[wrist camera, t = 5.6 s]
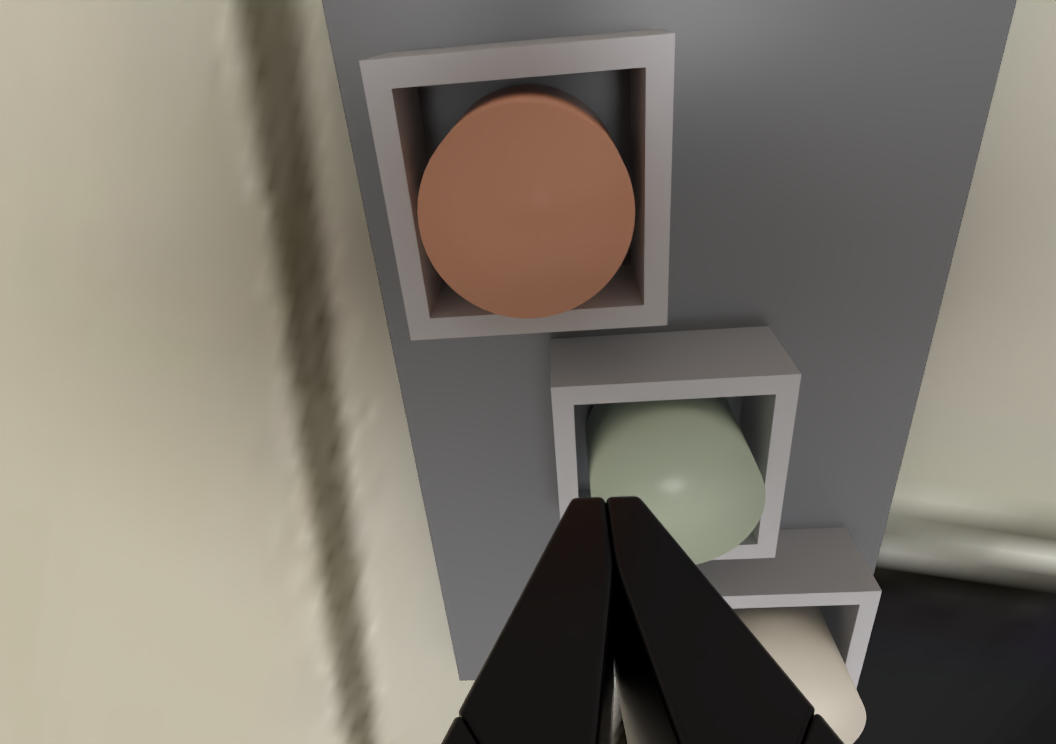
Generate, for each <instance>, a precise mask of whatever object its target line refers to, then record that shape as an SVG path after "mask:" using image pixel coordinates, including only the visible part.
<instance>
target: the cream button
mask: <svg viewBox="0 0 1056 744" xmlns="http://www.w3.org/2000/svg"><path fill="white" fill-rule="evenodd" d="M733 610H734V611H735V613H736V614H737V615H738V616H739V618H740V619H741V620H742V621H743V622H744V624H745V625H746V626H747V627H748V628H749V630H750V631H751V632H752V633H753V634H754V636H755V637H756V638H757V639H758V640H759V642H760V643H761V644H762V645H763V646H764V648H765V649H766V650H767V651H768V652H769V654H770V655H771V656H772V657H773V658H774V660H775V661H776V662H777V663H778V665H779V666H780V667H781V668H782V669H783V671H784V672H785V673H786V674H787V675H788V677H789V678H790V679H791V680H792V681H793V683H794V684H795V685H796V686H797V687H798V689H799V690H800V691H801V692H802V693H803V695H804V696H805V697H806V698H807V699H808V701H809V702H810V703H811V704H812V705H813V707H814V709H815V712H814V715H815V714H819V715H821V716H822V717H823V718H824V719H825V721H826V722H827V723H828V724H829V726H830V727H831V728H832V729H833V730H834V732H835V733H836V734H837V735H838V737H839V738H840V739H841V740H842V741H843V743H844V744H853V743H854V742H855V741H856V739H857V738H858V737H859V736H860V734H861V733H862V731H863V729H864V726H865V722H866V712H865V708H864V706H863V703H862V701H861V699H860V697H859V694H858V692H857V690H856V688H855V686H854V683H853V681H852V679H851V677H850V675H849V672H848V670H847V668H846V666H845V663H844V661H843V659H842V657H841V655H840V652H839V650H838V648H837V646H836V644H835V641H834V639H833V637H832V635H831V632H830V630H829V628H828V626H827V624H826V621H825V619H824V617H823V615H822V613H821V611H820V609H819V608H818V606H797V607H767V608H737V609H733Z"/></svg>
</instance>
